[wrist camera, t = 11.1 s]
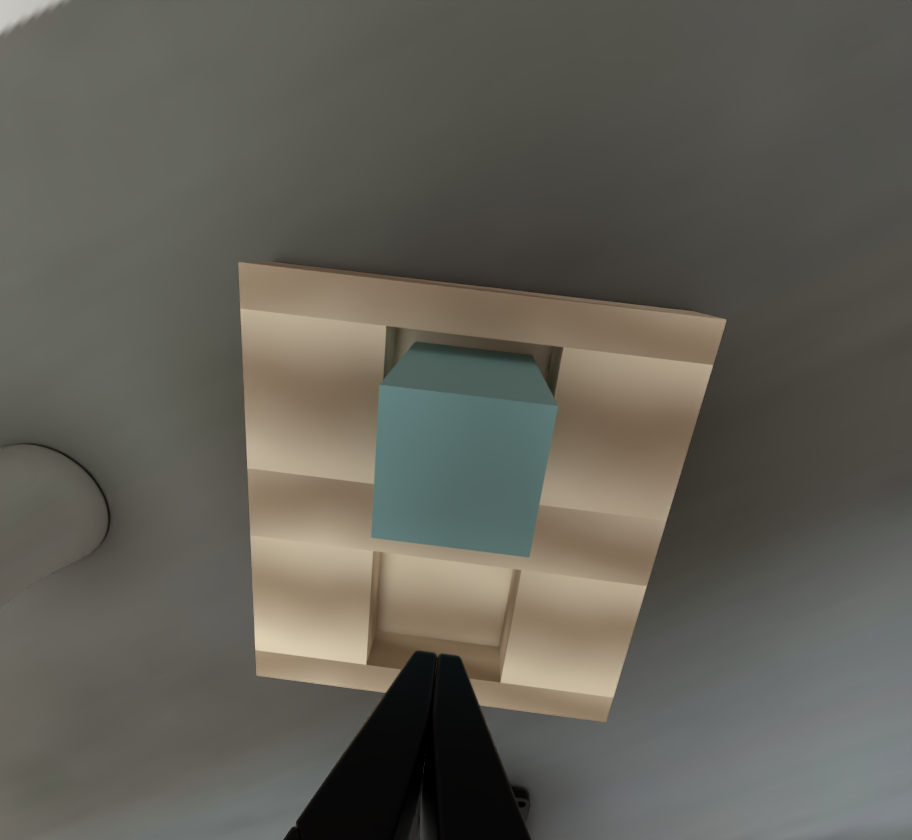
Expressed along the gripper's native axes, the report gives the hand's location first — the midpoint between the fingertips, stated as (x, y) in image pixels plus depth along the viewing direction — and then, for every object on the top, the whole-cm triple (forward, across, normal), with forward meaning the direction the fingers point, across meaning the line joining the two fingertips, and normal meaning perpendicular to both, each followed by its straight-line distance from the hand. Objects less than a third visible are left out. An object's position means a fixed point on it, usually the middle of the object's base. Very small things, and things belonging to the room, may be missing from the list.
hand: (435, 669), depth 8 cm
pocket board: (+12, 0, +3) cm, 12 cm away
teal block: (+11, 0, -2) cm, 11 cm away
